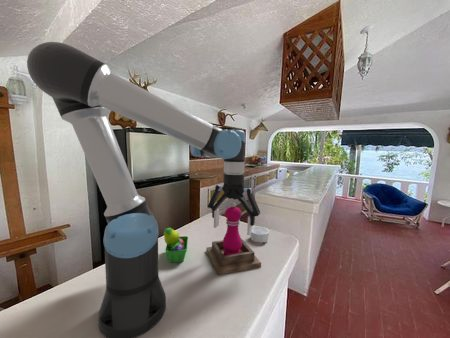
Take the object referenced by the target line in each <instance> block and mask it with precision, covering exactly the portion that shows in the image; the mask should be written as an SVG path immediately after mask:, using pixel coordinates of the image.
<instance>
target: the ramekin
mask: <svg viewBox="0 0 450 338" xmlns="http://www.w3.org/2000/svg"><path fill="white" fill-rule="evenodd" d="M269 233H270V230H269V229H268V228H267V227H264V226H252V233H251V234H250V235H249V236H250V239H251V241H253V242H254V243H258V242H259V244H261V243H263V242H264V243H266V242H268V240H269Z"/></svg>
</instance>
